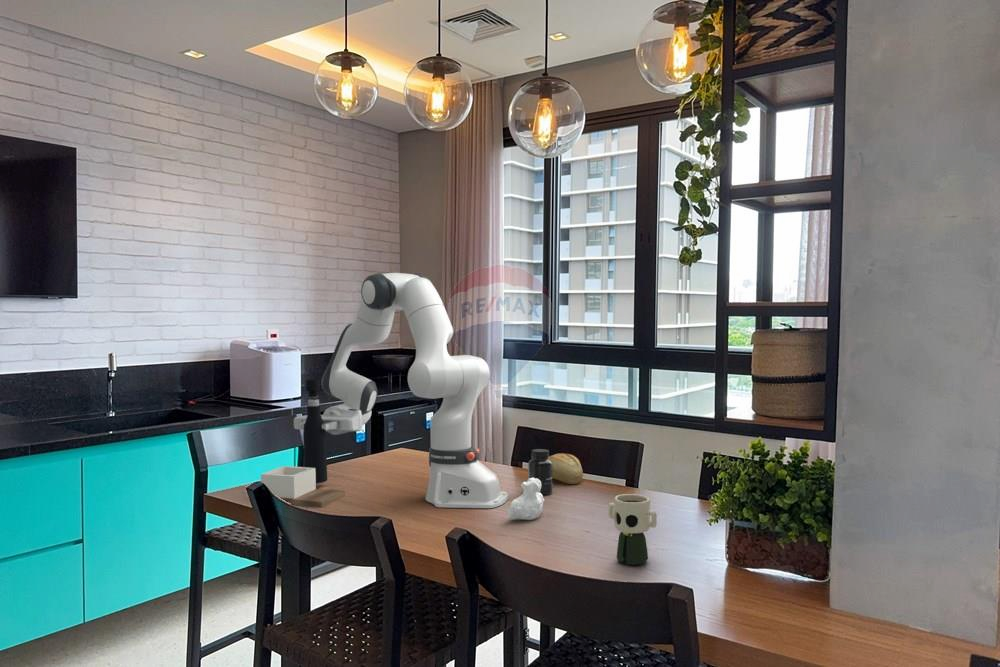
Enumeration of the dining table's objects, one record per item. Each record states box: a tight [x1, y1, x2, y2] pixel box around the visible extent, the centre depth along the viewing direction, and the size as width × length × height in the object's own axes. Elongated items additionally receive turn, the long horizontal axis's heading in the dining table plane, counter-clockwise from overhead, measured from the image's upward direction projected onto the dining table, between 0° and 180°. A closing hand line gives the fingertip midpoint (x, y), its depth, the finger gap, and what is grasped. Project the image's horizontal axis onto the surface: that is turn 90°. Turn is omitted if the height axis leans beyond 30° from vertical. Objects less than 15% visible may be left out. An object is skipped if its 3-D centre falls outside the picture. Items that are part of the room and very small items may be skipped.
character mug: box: [608, 493, 658, 565], centre depth 141 cm, size 11×7×13 cm, turn 49°
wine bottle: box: [302, 378, 328, 484], centre depth 205 cm, size 6×6×30 cm
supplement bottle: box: [527, 448, 554, 496], centre depth 196 cm, size 7×7×12 cm
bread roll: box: [548, 452, 584, 485], centre depth 210 cm, size 10×15×8 cm, turn 41°
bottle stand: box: [260, 465, 346, 508], centre depth 192 cm, size 20×12×8 cm, turn 73°
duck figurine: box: [507, 477, 545, 521], centre depth 171 cm, size 12×8×11 cm
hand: (312, 427), depth 204 cm, fingers closed on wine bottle, 6 cm apart
